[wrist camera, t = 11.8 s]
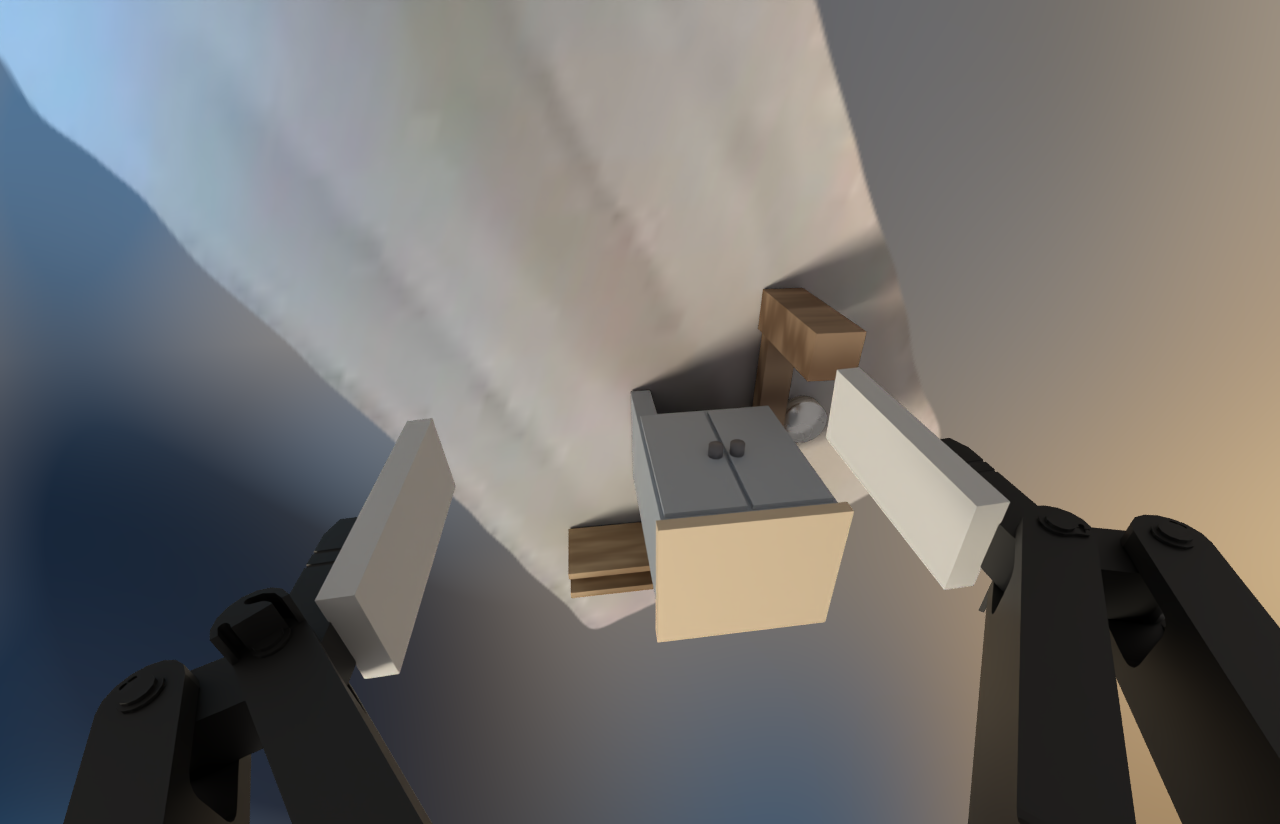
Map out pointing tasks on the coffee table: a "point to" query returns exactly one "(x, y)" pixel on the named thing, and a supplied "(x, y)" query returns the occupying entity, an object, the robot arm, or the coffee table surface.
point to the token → (804, 418)
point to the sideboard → (732, 521)
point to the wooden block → (801, 344)
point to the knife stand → (608, 560)
